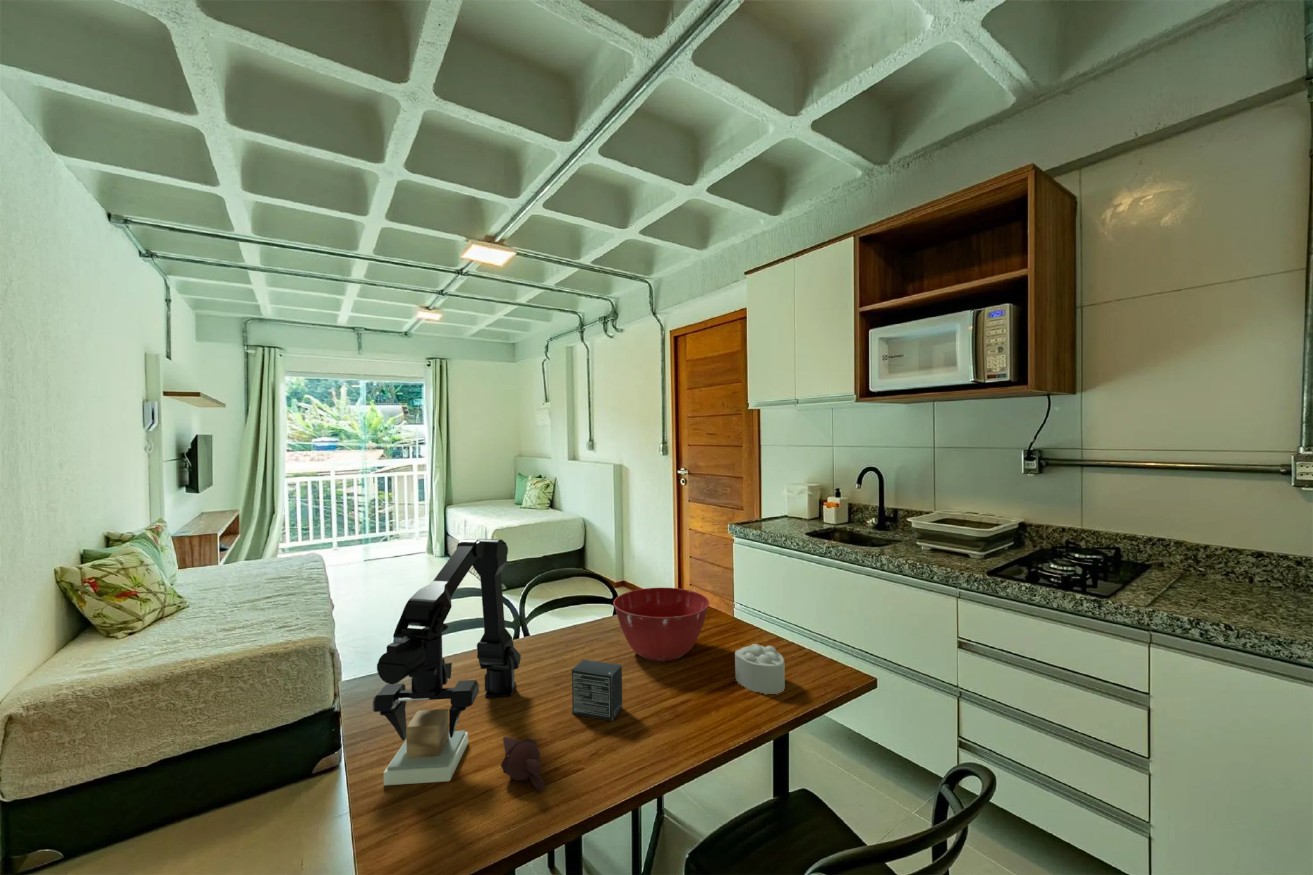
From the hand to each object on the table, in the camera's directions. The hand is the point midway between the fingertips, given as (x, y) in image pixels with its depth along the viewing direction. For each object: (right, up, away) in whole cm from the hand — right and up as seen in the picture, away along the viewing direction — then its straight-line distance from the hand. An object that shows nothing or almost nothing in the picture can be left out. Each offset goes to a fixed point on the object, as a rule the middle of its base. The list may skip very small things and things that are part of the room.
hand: (428, 737), depth 102 cm
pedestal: (0, -5, 0) cm, 5 cm away
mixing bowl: (+47, -4, +51) cm, 69 cm away
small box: (+32, -5, +19) cm, 37 cm away
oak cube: (0, -2, 0) cm, 2 cm away
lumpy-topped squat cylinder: (+73, -4, +31) cm, 79 cm away
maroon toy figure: (+20, -5, -4) cm, 21 cm away
